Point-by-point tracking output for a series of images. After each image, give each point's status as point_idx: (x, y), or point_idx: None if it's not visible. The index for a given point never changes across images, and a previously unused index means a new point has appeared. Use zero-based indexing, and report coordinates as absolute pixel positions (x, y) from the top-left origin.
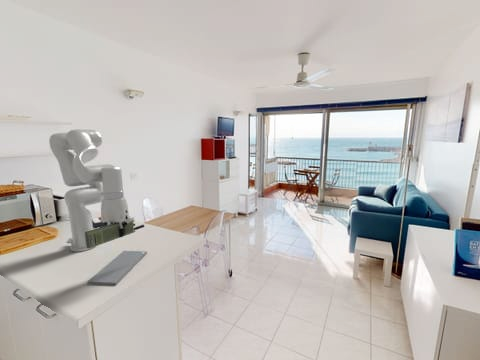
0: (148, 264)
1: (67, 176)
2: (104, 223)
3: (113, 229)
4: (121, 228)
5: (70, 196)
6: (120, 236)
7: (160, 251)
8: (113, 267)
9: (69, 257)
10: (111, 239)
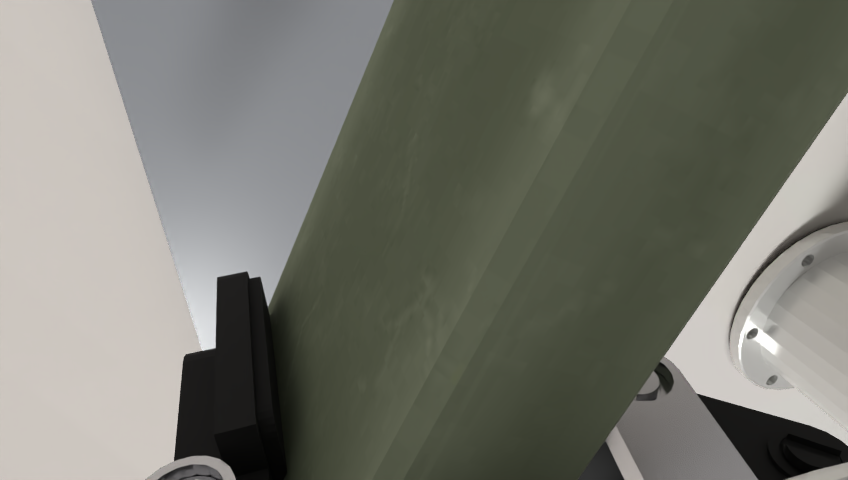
0: (7, 220)
1: None
2: (828, 435)
3: (378, 311)
4: (180, 459)
5: None
6: (232, 280)
7: (103, 448)
8: (332, 44)
9: (843, 140)
10: (355, 113)
